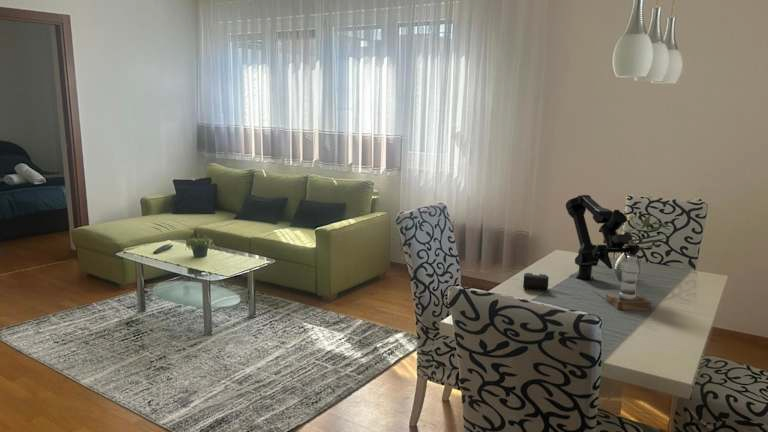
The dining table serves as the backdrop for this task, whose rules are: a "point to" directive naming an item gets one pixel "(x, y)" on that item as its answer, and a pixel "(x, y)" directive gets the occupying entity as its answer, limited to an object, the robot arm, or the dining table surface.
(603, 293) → the felt coaster
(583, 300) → the dining table surface
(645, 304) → the walnut collar
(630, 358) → the dining table surface
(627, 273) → the plastic bottle
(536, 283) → the end cap
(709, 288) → the dining table surface
